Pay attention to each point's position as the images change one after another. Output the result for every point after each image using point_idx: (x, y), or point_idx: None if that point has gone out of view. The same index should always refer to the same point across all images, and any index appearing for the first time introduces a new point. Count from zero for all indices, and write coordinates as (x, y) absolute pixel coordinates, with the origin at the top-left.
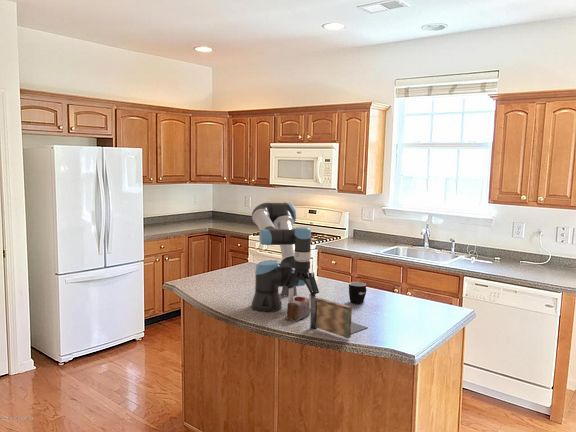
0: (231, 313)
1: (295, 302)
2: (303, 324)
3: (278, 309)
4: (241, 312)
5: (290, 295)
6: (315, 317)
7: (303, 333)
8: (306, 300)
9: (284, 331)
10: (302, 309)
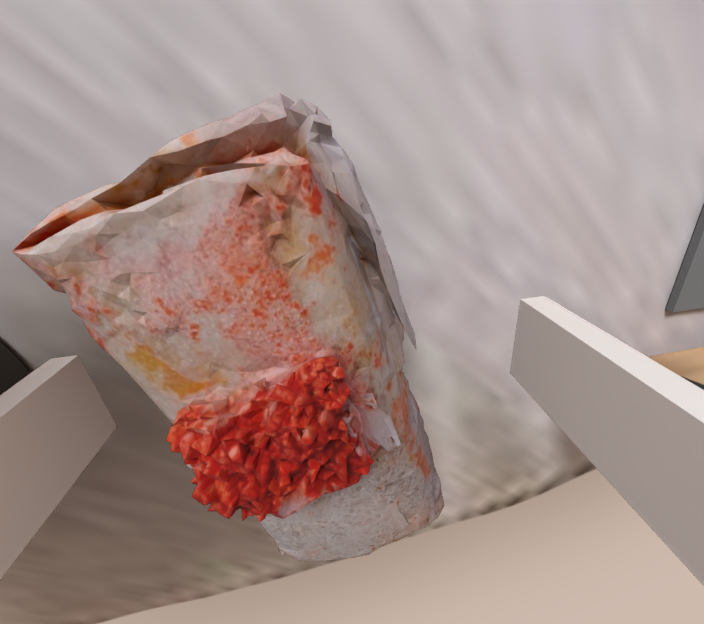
0: (18, 613)
1: (380, 535)
2: (472, 379)
3: (15, 364)
4: (9, 575)
5: (25, 513)
6: None
7: (573, 457)
8: (338, 304)
9: (472, 514)
10: (408, 386)
